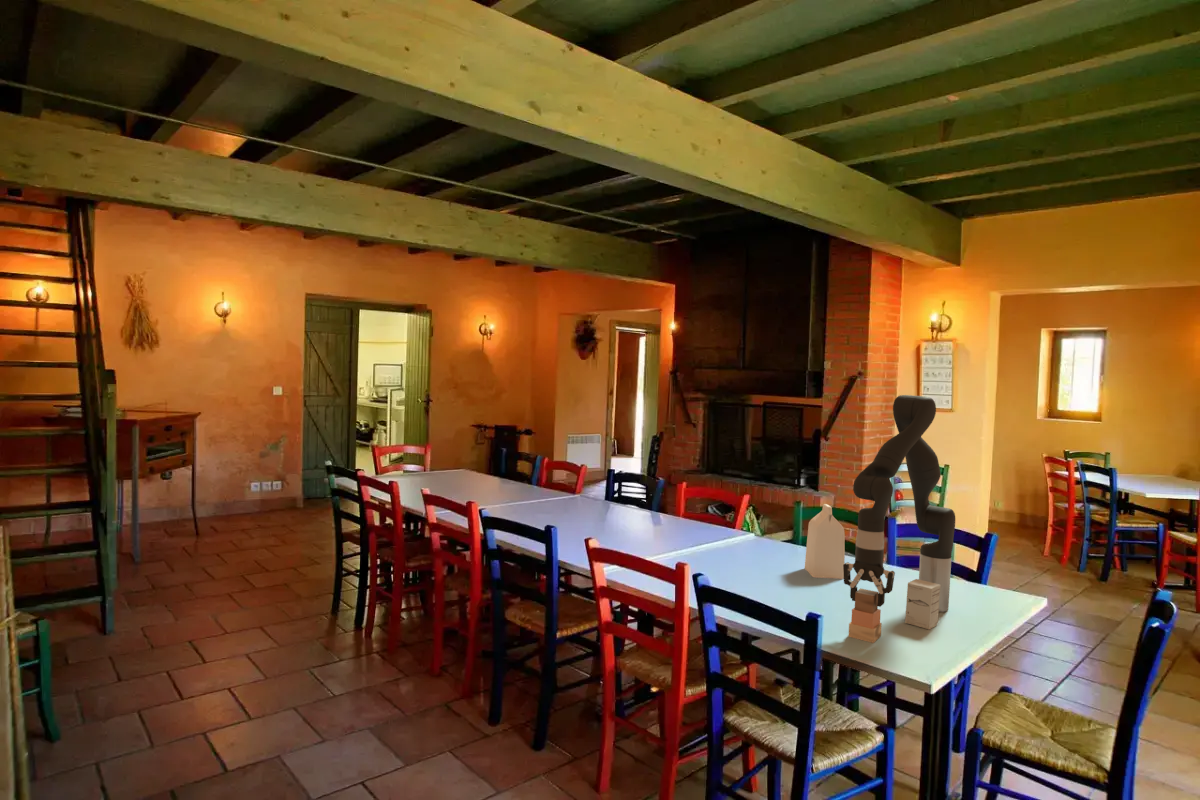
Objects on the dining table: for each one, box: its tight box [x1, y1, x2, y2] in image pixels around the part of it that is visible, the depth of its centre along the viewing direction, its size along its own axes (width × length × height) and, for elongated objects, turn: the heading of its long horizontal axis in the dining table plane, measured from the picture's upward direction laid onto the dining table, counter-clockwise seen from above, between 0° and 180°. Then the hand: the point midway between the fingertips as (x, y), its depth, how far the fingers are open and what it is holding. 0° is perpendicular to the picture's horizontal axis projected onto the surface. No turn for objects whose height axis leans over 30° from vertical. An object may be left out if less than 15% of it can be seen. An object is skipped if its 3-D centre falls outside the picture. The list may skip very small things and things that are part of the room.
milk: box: [804, 503, 846, 580], centre depth 264 cm, size 12×12×26 cm
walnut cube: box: [854, 588, 879, 614], centre depth 199 cm, size 5×5×5 cm
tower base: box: [848, 621, 882, 644], centre depth 200 cm, size 7×7×4 cm
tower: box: [850, 607, 882, 629], centre depth 199 cm, size 6×6×4 cm
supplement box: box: [904, 578, 941, 630], centre depth 212 cm, size 7×7×13 cm
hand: (866, 602), depth 199 cm, fingers open, 6 cm apart
